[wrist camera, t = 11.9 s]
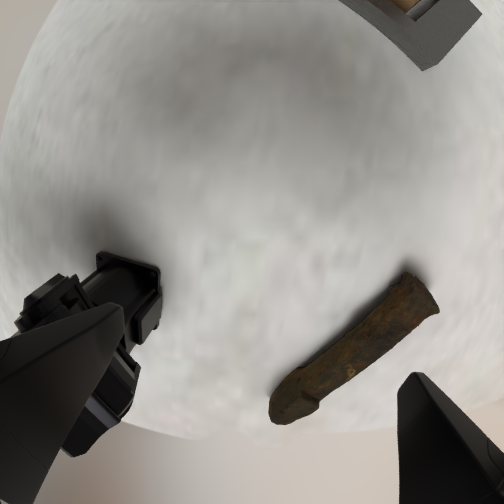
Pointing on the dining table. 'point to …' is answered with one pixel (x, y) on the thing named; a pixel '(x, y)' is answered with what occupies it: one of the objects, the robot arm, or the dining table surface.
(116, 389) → the robot arm
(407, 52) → the grey slotted base plate
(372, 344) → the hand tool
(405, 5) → the walnut post
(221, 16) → the dining table surface
